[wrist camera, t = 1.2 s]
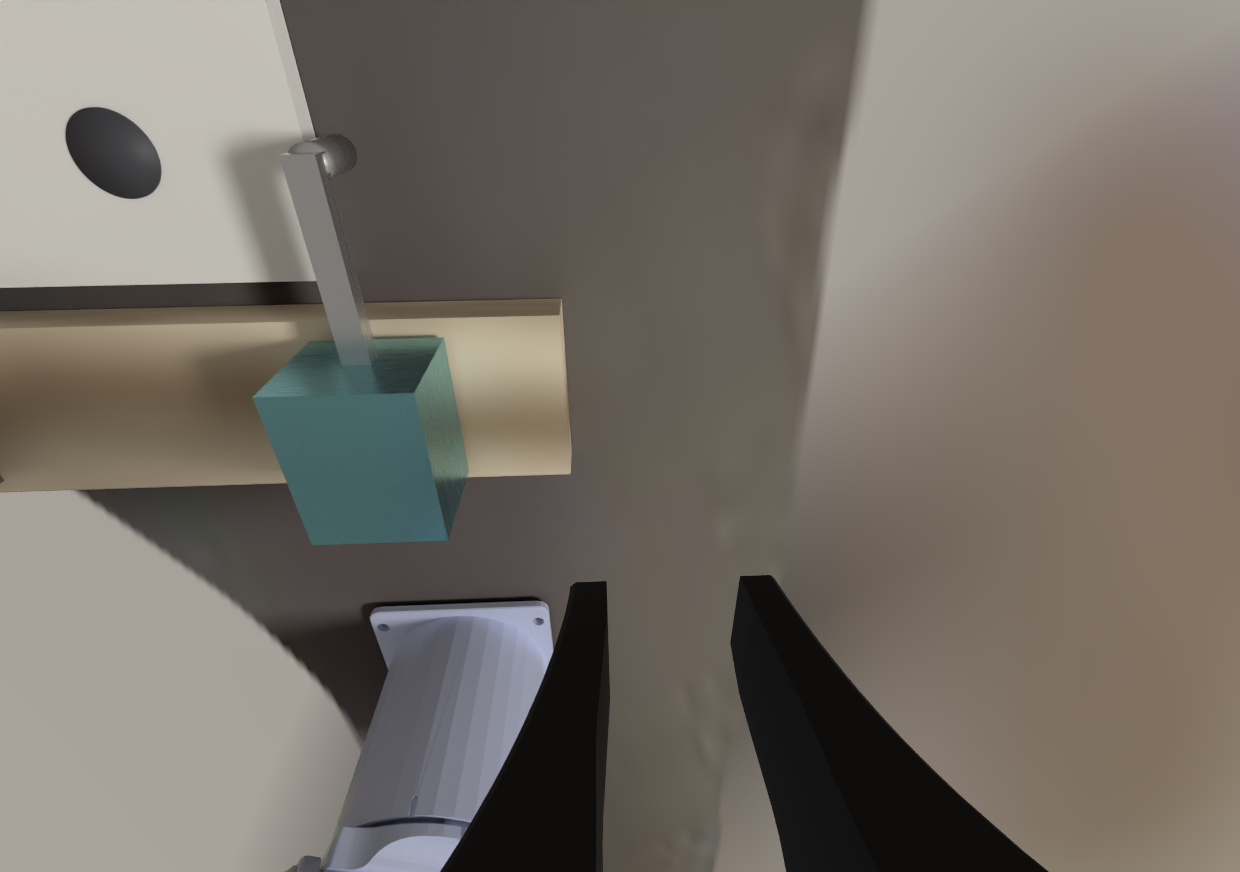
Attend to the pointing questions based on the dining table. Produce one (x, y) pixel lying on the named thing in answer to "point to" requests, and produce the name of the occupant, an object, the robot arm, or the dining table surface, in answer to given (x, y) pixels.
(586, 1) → the dining table surface
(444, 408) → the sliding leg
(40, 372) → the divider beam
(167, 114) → the bolt plate
